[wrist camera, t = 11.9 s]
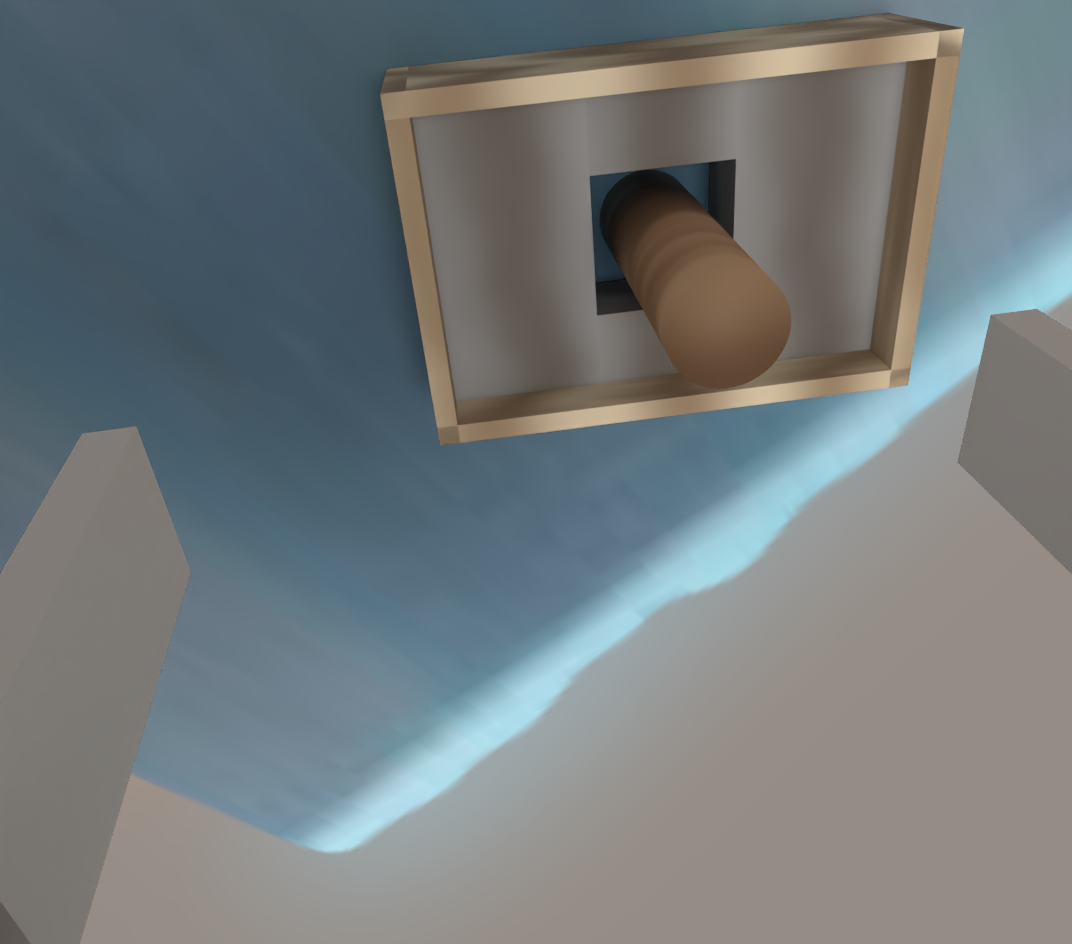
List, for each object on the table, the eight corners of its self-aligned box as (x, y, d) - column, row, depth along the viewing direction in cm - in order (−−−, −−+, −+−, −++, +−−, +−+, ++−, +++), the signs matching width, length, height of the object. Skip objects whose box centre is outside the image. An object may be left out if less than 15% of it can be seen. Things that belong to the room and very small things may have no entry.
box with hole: (438, 383, 39) (440, 445, 35) (387, 68, 32) (379, 94, 28) (852, 331, 40) (907, 385, 36) (889, 13, 33) (963, 28, 29)
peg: (597, 175, 35) (665, 279, 25) (690, 164, 35) (795, 262, 25) (602, 267, 37) (667, 396, 27) (690, 256, 37) (787, 380, 27)
